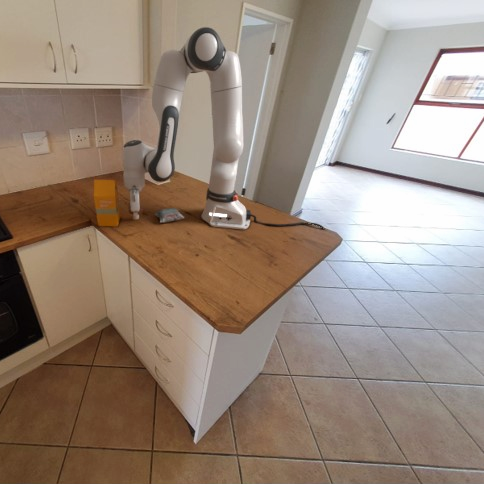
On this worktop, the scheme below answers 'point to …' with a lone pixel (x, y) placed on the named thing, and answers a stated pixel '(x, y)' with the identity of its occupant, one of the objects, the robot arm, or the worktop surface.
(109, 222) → the orange juice
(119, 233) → the worktop surface
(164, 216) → the packaged food
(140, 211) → the brown stepped knob
